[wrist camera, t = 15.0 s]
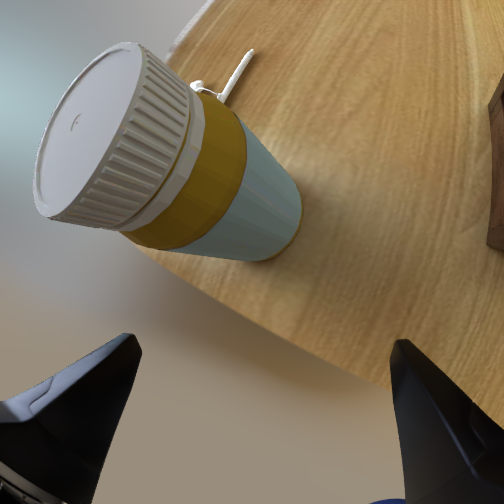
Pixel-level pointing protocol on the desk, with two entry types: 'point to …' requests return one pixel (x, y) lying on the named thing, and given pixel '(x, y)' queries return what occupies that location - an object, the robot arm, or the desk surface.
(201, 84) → the picture light
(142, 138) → the bottle
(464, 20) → the desk surface
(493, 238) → the tray
